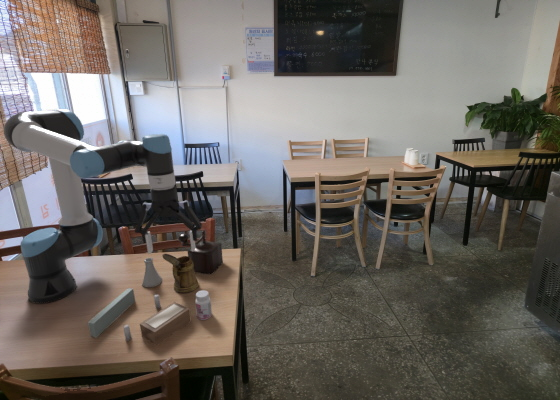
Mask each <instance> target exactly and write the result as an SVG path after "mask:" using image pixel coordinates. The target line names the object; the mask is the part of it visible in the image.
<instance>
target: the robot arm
mask: <svg viewBox="0 0 560 400" xmlns="http://www.w3.org/2000/svg"><path fill="white" fill-rule="evenodd" d="M3 135H4V138H5V140H6V141H7V143H8V144H10V145H11V146H12V147H14V148H15V149H17V150H19V151H22V152H25V153H32V152H34V153H37V154H40V155H43V156H45V157H47V158H48V161H49V166H50V171H51V176H52V179H53V184H54V188H55V192H56V193H55V194H56V197H57V202H58V206H59V210H60V214H61V218H59V220H58V221H57V222H58V227H59V228H58V229H57V228H55V227H45V228H40V229H37V230H35V231H33V232H31V233H29V234H27V235H26V236H24V237H23V238H22V240H21V241H20V250H21V255H22V257H23V261H24V264H25V268H26V271H27V274H28V275H27V276H28V279H29V280H28V281H29V282H28V290H27V296H28V300H29V301H30V302H31V303H33V304H48V303H53V302H56V301H58V300H61V299H63V298H66V297H67V296H69V295H71V294H72V293H73V292H74V291H75V290H76V288H77V281H76V278H74V276H73V274H72V273H71V272H70V270H69V269H68V268H67V264H66V260H68V259H71V258H73V257H75V256H78V255H80V254H82V253H85V252H87V251H90V250H92V249H93V248H96V247H97V246H98V245H100V243H101V242H102V241H103V236H104V235H103V234H104V232H103V228H102V225H101V224H100V221H98V219H96V218H94V216H93V215H92V214H91V213H89V212H88V209H87V204H86V203H87V202H86V199H85V194H84V189H83V188H84V187H83V183H82V179H89V178H96V177H99V176H101V175H105V174H108V173H112V172H117V171H121V170H124V169H128V168H132V167H133V168H134V167H143V168H144V167H146V171H147V178H148V184H149V188H150V189H149V192H150V198H151V202H147V201H144V202H143V203H142V205H141V212H140V216H139V217H138V221H137V222H136V223H137V224H136V226H135V228H134V232H135V233H136V234H141V238H142V242H143V244H146V249H147V254H148V255H151V254H152V253H153V251H154V247H153V241H152V236H151V235H152V233H151V231H148V230H149V229H150V228H151V226H152V225H153V223H155V220H156V219H157V218H158V217H161V218H165V217H166V218H167V217H168V218H171V217H175V218H176V219H177V220H179V221H180V222H181V223H182V224H183V225H185V226H186V227H187V229H189V232H188V233H189V241H190V244H191V246H190V248H191V249H192V251H194V250H195V248H196V247H195V243H196V241H198V230H201V229H202V226H203V223H202V222H201V221H200V219H199V217H198V216H197V215H196V213H195V212H194V210H193V208H192V207H191V205H190V201H189V200H188V199H185V200H184V201H183V200H182V201H179V198H178V191H177V187H176V175H175V170H174V169H175V167H174V162H173V154H172V152H173V151H172V149H173V148H172V146H171V145H172V144H171V140H170V137H169V135H167V134H163V133H158V134H154V133H153V134H147V135H144V136H142V139H141V140H132V139H126V140H125V139H124V140H119V141H118V142H117V143H111V144H107V145H106V144H105V145H101V146H95V145H92V144H89V143H86V142H83V141H81V140H83V139H84V136H85V129H84V126H83V124H82V121H81V119H80V118H79V117H78V116H77V114H76V113H74V112H73V111H72V110H70V109H64V108H63V109H60V108H59V109H57V108H55V109H46V110H35V111H33V110H32V111H22V112H17V113H15V114H13V115H11V116H10V117H9V118H8V119H7V120H6V122H5V123H4V126H3ZM180 207H181V208H182V209H183V210H184V211H185V213H186V214H187V215H188V217H189V218H190V219H189V218H188V217H187V216H186V215H185V214H184V213H182V211H181V210H180V209H179V208H180ZM150 209H151V210H153V212H154V214H153V215H152V216H151V218H150V219H149V221H148V222H147V223H146V225H145V226H144V227H143V225H144V223H145V221H146V220H145V219H146V217H147V214H148V211H149V210H150Z"/></svg>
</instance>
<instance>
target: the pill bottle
mask: <svg viewBox="0 0 560 400" xmlns="http://www.w3.org/2000/svg"><path fill="white" fill-rule="evenodd" d="M211 302H212V301H211V297H210V295H209V291H207V290H198V291H197V292H196V293H195V311H196V317H197V319H199V320H201V321H205V320H208V319H210V318H211V317H212V315H213V314H212V313H213V312H212V303H211Z"/></svg>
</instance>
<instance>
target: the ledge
mask: <svg viewBox="0 0 560 400" xmlns="http://www.w3.org/2000/svg"><path fill="white" fill-rule="evenodd" d="M153 297H154V305H155V309H161V300H160V294H154V296H153ZM135 302H136V298H135V292H134V288H131V287H128V288H126V289H125V290H124V291H123V292H122V293H121V294H120V295H118V296H117V297H116V298H115V299H113V300H112V301H111V302H110V303H109V304H108V305H107V306H106V307H104V308H103V309H101V311H99V312H98V313H97V314H96V315H95V316H94V317H92V318H91V319H90V320H89V321H88V322H87V325H88V329H89V333H90V337H93V338H98V337H99V336H100V335H101V334H102V333H103V332H104V331H105V330H106V329H107V328H108V327H109V326H110V325H111V324H113V323H114V322H115V321H116V320H117V319H118V318H119V317H120V316H121V315H122V314H123V313H124V312H125V311H127V309H129V308H130V307H131V306H132V305H133V304H134V303H135ZM123 332H124V338H125V341H130V340H132V333H131V328H130V325H129V324H125V325H123Z"/></svg>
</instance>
